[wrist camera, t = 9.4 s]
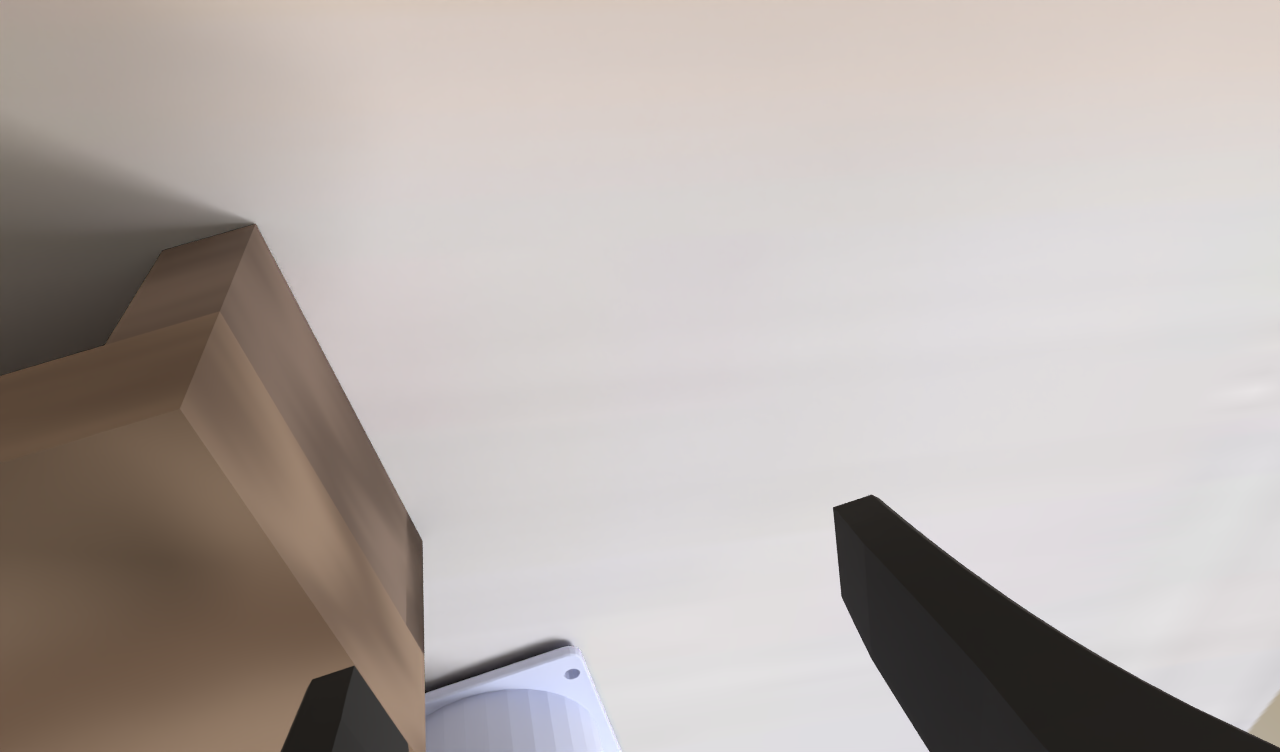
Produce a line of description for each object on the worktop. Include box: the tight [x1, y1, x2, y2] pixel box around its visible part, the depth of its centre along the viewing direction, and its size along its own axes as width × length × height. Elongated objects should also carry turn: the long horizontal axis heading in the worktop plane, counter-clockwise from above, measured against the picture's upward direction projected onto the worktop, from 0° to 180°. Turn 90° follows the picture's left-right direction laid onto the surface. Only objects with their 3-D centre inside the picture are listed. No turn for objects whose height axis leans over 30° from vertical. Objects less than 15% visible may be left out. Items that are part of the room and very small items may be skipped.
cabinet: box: [0, 224, 426, 752], centre depth 17 cm, size 10×13×7 cm
